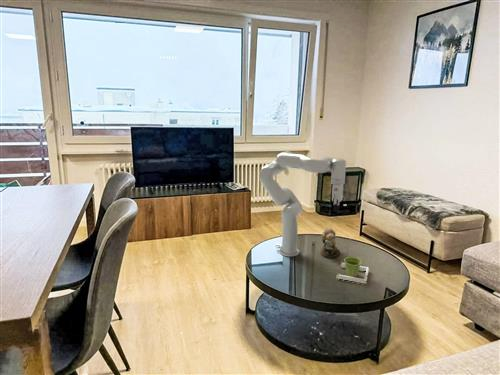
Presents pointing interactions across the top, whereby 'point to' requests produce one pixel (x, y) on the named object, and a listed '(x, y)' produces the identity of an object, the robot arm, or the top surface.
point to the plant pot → (352, 266)
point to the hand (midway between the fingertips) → (336, 211)
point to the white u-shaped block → (354, 277)
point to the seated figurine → (329, 244)
